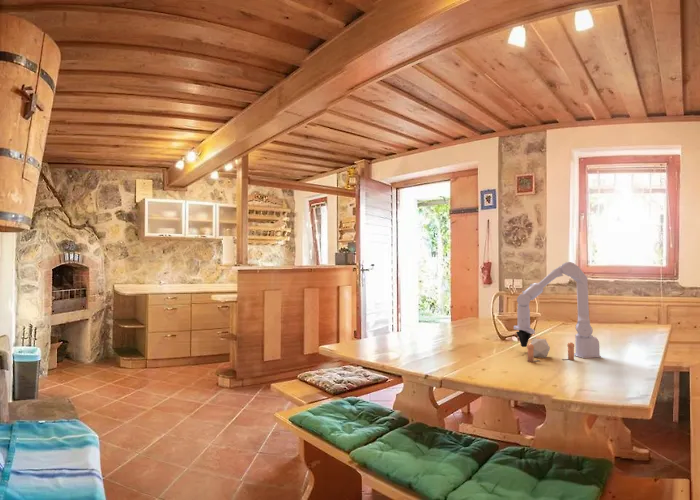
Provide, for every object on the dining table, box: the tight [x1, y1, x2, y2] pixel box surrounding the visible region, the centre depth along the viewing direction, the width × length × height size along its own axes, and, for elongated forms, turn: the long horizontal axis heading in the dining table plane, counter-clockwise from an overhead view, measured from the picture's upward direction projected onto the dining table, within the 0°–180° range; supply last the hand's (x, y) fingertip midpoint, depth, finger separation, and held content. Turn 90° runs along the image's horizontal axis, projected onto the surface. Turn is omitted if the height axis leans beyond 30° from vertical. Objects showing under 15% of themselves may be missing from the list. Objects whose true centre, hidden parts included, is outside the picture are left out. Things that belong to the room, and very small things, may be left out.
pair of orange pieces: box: [526, 342, 575, 363], centre depth 187 cm, size 23×3×8 cm, turn 101°
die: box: [530, 338, 551, 359], centre depth 195 cm, size 8×9×10 cm
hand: (523, 346), depth 206 cm, fingers closed
